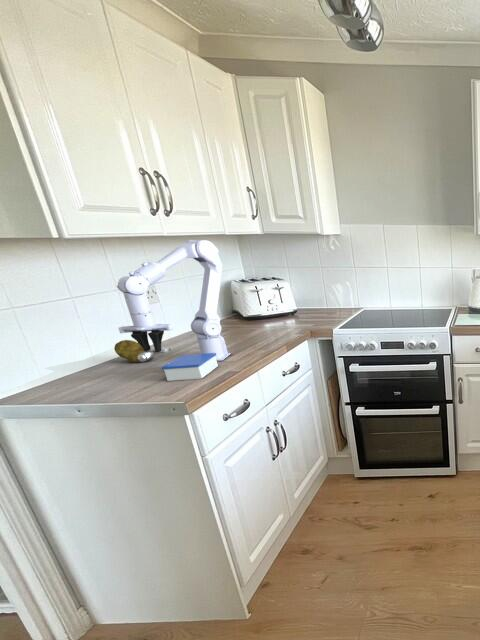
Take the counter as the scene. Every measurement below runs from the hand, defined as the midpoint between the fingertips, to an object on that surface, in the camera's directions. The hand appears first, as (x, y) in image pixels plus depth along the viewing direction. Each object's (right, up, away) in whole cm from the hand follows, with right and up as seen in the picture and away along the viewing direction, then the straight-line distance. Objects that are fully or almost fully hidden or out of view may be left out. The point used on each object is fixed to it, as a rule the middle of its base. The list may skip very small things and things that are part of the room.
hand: (153, 351), depth 144 cm
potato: (-20, -3, +15) cm, 25 cm away
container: (+13, -7, +1) cm, 15 cm away
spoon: (0, -1, 0) cm, 1 cm away
